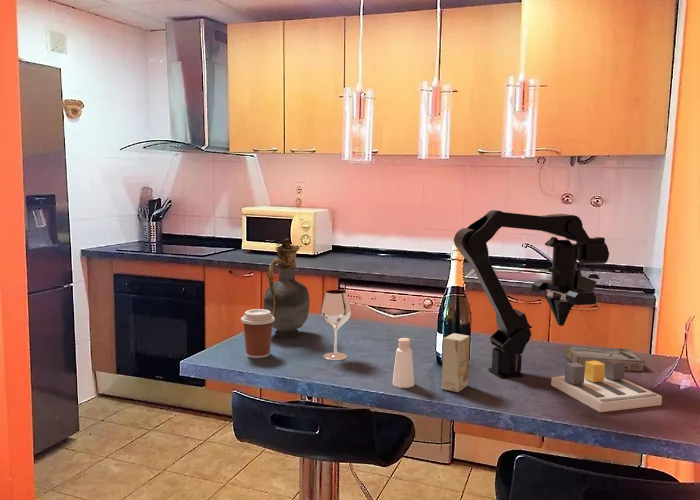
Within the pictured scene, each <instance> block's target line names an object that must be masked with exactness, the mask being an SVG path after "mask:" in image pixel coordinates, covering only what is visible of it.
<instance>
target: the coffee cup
mask: <svg viewBox="0 0 700 500" xmlns="http://www.w3.org/2000/svg"><path fill="white" fill-rule="evenodd" d="M274 321H275V318H274V316H272V315H271V312H270V311H269V310H265V309H263V308H256V309H255V308H254V309H253V308H252V309H249V310H246V311H245V312H244V315H243V316H242V317H241V318H240V322H241V323H242V324H243V332H244V345H245V355H246V357H247V358H251V359H263V358H267V357H269V356H270V355H271V345H272V330H273V327H272V322H274Z"/></svg>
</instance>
